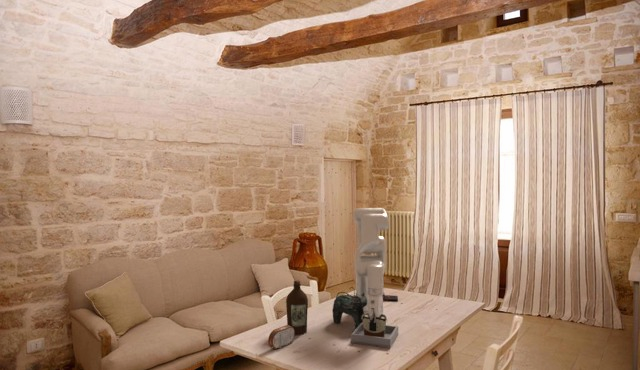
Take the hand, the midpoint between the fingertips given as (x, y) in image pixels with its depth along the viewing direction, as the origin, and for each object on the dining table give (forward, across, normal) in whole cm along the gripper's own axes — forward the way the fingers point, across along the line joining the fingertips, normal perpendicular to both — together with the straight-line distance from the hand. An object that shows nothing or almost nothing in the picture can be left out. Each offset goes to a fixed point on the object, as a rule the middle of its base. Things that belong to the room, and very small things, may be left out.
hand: (375, 327), depth 212 cm
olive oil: (+6, -4, +38) cm, 39 cm away
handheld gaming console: (+6, +69, +9) cm, 70 cm away
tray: (+5, 0, 0) cm, 5 cm away
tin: (+6, -23, +37) cm, 44 cm away
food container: (+4, +1, 0) cm, 5 cm away
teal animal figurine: (+6, +13, +17) cm, 22 cm away
